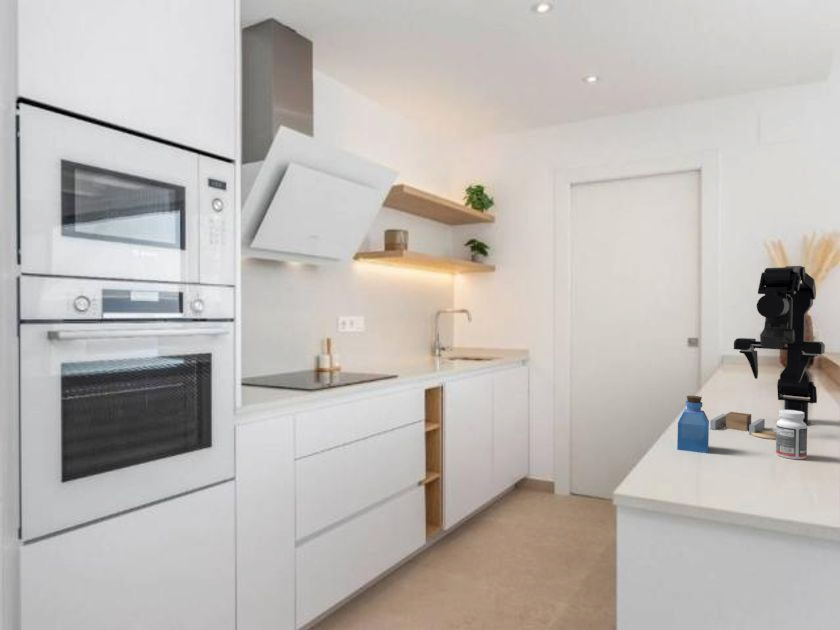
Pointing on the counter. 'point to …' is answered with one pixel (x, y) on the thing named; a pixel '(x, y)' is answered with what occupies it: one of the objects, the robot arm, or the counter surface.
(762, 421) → the channel
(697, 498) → the counter surface
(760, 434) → the coaster
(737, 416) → the block
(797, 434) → the pill bottle
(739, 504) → the counter surface
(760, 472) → the counter surface
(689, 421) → the blue corked bottle
